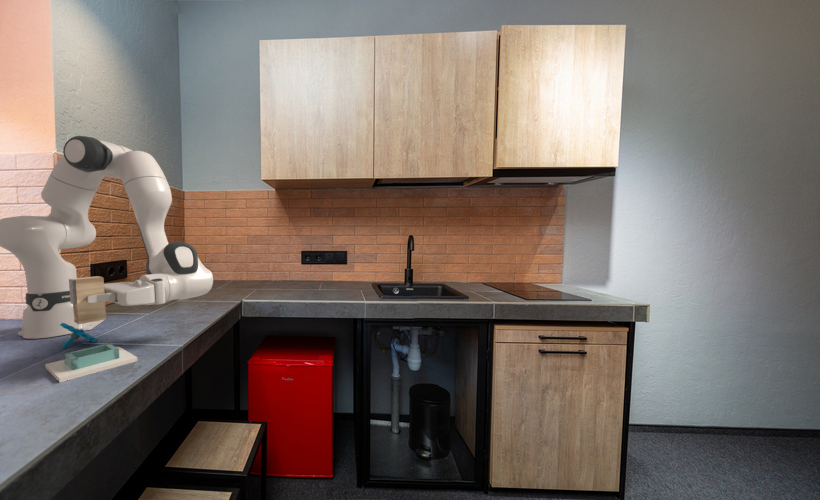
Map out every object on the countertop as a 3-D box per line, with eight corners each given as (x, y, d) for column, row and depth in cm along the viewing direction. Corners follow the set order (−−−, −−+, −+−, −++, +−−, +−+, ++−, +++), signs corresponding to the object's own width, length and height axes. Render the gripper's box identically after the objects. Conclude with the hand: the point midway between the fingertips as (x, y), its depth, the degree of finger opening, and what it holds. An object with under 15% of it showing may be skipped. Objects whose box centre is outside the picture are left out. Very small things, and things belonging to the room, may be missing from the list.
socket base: (45, 367, 78) (44, 354, 78) (119, 349, 90) (118, 338, 90) (59, 382, 71) (58, 367, 71) (137, 360, 83) (136, 348, 83)
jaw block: (71, 322, 78) (68, 279, 78) (101, 317, 83) (98, 276, 82) (75, 324, 76) (72, 280, 75) (106, 319, 81) (103, 277, 80)
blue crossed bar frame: (101, 340, 93) (64, 321, 88) (82, 358, 90) (42, 340, 85) (98, 336, 101) (64, 319, 96) (80, 353, 98) (44, 336, 92)
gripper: (137, 275, 96) (71, 281, 84) (165, 281, 85) (95, 290, 73) (138, 295, 96) (73, 304, 84) (166, 304, 85) (97, 316, 74)
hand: (83, 298), depth 79 cm, fingers closed on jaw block, 4 cm apart
